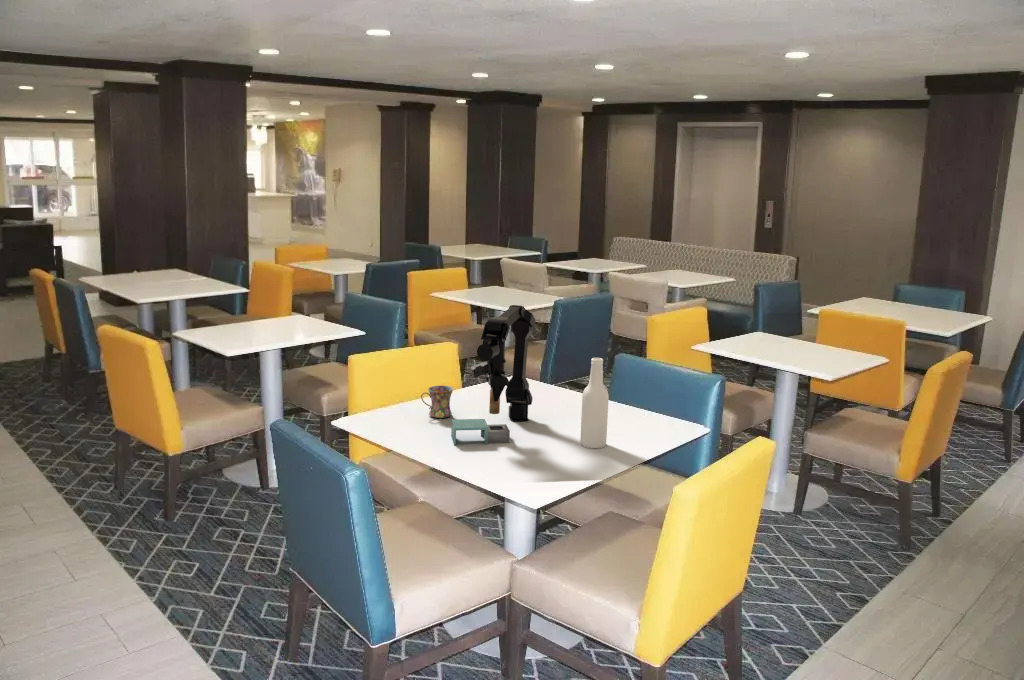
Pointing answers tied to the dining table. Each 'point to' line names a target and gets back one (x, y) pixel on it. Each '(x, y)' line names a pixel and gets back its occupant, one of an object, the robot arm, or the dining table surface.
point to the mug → (439, 401)
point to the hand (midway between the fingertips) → (495, 400)
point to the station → (482, 430)
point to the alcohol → (594, 408)
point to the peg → (494, 404)
